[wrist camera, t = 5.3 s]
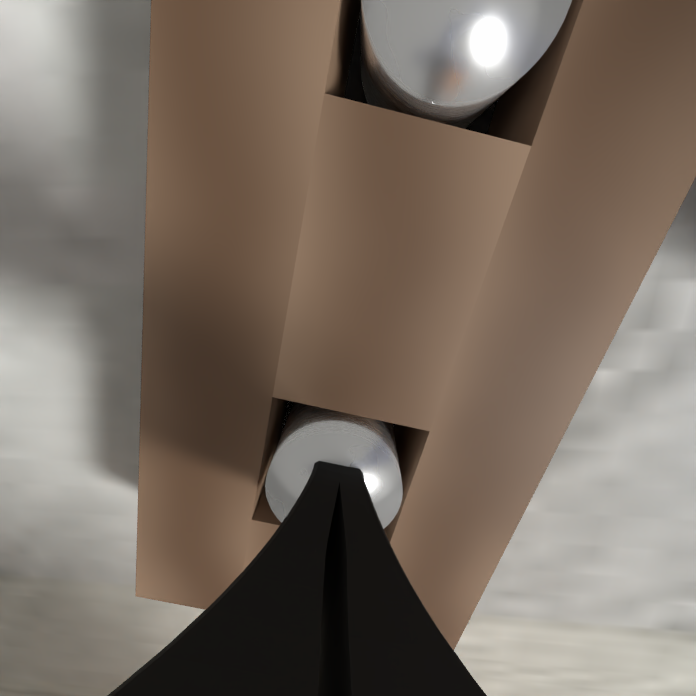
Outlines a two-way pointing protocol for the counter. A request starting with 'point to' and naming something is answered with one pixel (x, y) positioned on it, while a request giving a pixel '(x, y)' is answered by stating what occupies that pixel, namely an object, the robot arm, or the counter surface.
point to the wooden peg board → (387, 273)
